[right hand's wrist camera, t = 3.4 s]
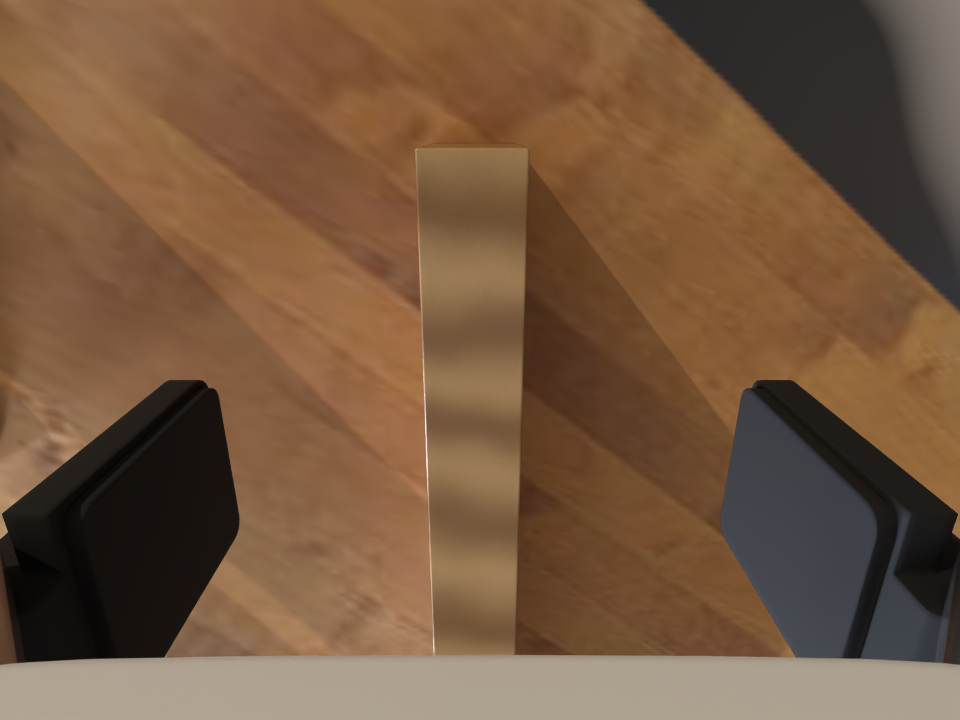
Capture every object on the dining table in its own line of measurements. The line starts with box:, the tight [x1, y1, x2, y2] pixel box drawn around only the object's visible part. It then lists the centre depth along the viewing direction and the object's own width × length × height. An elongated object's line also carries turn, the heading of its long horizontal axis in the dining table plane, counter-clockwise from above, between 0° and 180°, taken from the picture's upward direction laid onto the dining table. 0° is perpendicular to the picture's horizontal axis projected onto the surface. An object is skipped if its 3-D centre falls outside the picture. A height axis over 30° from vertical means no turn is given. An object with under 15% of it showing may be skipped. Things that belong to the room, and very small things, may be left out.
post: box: [415, 144, 529, 655], centre depth 40 cm, size 60×5×9 cm, turn 0°
